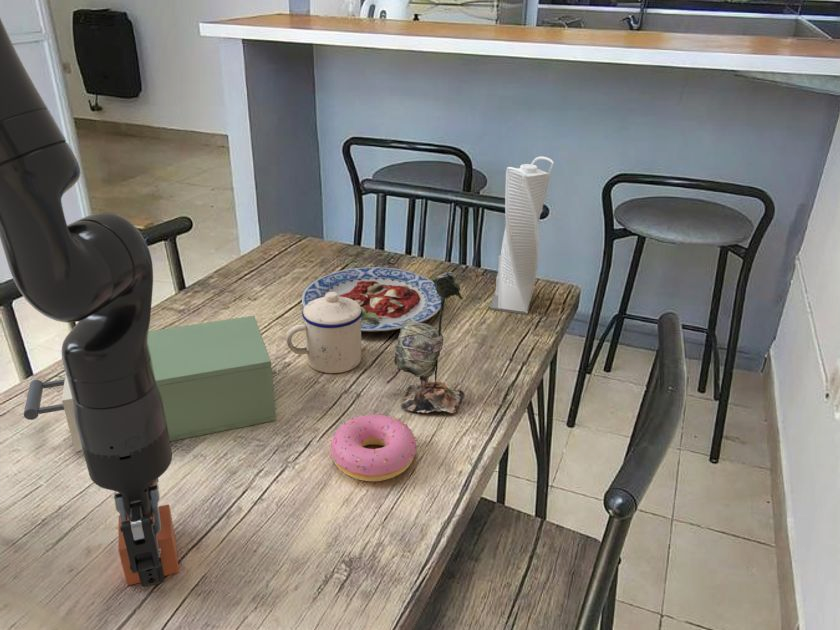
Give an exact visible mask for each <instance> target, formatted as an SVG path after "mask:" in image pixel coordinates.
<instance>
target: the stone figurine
mask: <svg viewBox="0 0 840 630" xmlns="http://www.w3.org/2000/svg"><path fill="white" fill-rule="evenodd" d="M433 282H434V284H435V287H436V290H437V293H438V295H439V296H440V297H442V298H441V303H440V305H441V309H440V310H439V316H438V329H437V327H434V326H432V325H430V324H429V323H428V324H427V323H424V322H421V323H420V322H418V321H415V320H406V321H404V323H403V325H402V327H401V329H400V330H399V331H400V332H399V334H398V336H397V342H396V344H395V345H394V348H395V349H394V350H395V351H394V354H393V363H394V365H395V366H396V368H395V369H394V370H393V371H392V373H391V375H390V376H389V377H388V378H387V379H386V381H385V384H390V383H391V382H392V381H393V380H394V379H395V378H396V377H397V376H398V375H399V374H400V373H401V371H403V372H405V373H409V374H411V375H413V376H414V377H416V378H419V381H420V383H418V384H417V383H415V384H413V385H412V384H411V385H410V384H409V386H408V387H407V388H406V391H405V395H404V397H403V399H402V403H400V406H401V408H402V409H404V410H405V411H409V412H410V411H411V412H417V413H422V414H424V413H425V414H428V413H431V412H432V413H433V412H437V413H440V412H442V411H443V412H447V413H450V414H453V413H456V412H458V409H459V407H458V406H459V405H461V404H462V402H461V400H463V397H464V396H465V394H466V393H465V392H464V391H463V390H462V389H460V390H459V389H451V388H450V387H447V386H446V385H447V384H446V382H442V381H437V377H438V375H437V374H438V366H439V365H438V363H439V357H440V355H441V351H442V350H443V345H444V341H445V339H444V336H443V333H442V322H443V312H444V309H445V308H444V307H445V303H446V299H448V298H450V297H455V296H457V298H458V299H460V300H463V299H464V298H463V296H462V294H461V292H460V291H461V284H460V282H459V281H458V280H457V277H456V275H455V274H454V273H453V272H452V271H447V272H445V273H441V274H439V275H437V276H436V277H434V278H433ZM407 316H408V315H406V317H407ZM432 376H434V381H429V379H430V378H431V377H432Z"/></svg>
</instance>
